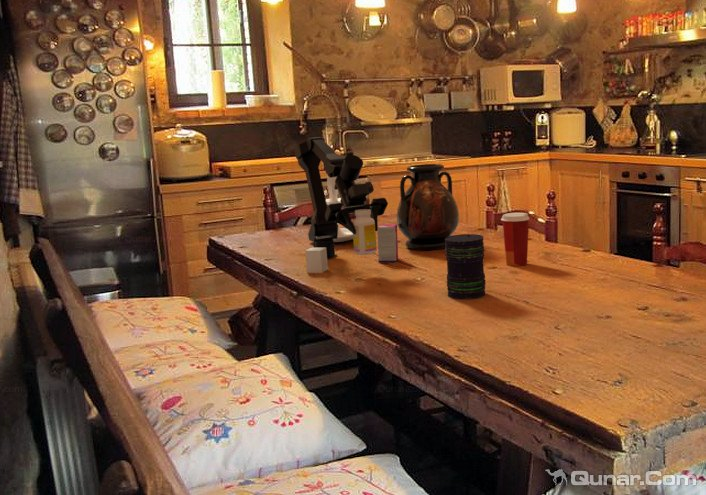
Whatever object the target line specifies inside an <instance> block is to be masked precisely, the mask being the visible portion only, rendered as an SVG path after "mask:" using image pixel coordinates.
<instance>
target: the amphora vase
mask: <svg viewBox="0 0 706 495" xmlns="http://www.w3.org/2000/svg"><path fill="white" fill-rule="evenodd" d="M444 169H445V166H444V164H442V163H427V164H426V163H425V164H415V165H414V164H413V165H409V166H407V167H406V171H407V172H409V173H411V175H412V176H411V175H410V174H406V175H404V176H402V177H401V179H400V181H399V183H400V184H399V194H400V200H399V203H398V206H397V212H396V223H397V224H396V225H397V228H398V229H399V231H400V232H401V234H402V235H403V236H405V238H407V240H406V241H405V246H406V247H407V248H408V249H411V250H417V251H433V250H441V249H445V248H446V247H445V244H446V242H445V238H446V237H448V236H453V235H454V234H453V233H455V231H456V230H457V229H458V225H459V223H460V213H459V207H458V205H457V202H456V199H455V197H454V196H453V180H452V176H451V175H450V173H449V172H448V171H442V170H444ZM440 171H441V172H440ZM443 176H444V177H446V181H447V187H446V186H444V184H443V183H442V182H441V181H442V177H443ZM407 179H408V180H409V181H410V183H411V184H410V186H409V187H408V188H407V190H406V191H405V184H406V181H407Z"/></svg>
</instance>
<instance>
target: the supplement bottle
mask: <svg viewBox="0 0 706 495" xmlns="http://www.w3.org/2000/svg"><path fill="white" fill-rule="evenodd" d="M370 215H371V210H370V209H360V210H355V213H354V216H355V218H354V219H353V220H352V223H353V225H354V227H355V230H356V234H353V239H352V240H353V251H354V253H355V254H356V255H360V256H369V255H373V254H375V253H376V252H377V251H378V248H377V237H376V231H375V221H374V219H373V218H371V217H370Z"/></svg>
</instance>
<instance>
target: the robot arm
mask: <svg viewBox="0 0 706 495" xmlns="http://www.w3.org/2000/svg"><path fill="white" fill-rule="evenodd" d="M294 155H295V156H294V157H295V159H296V160H297V163H298V166H299V167H300V168H301V169H302V170H303V171H304V173H305V178H306V181H307V182H306V183H307V187H308V191H309V196H310V200H311V204H312V210H313V214H312V216H311V220H310V228H309V231H308V233H307V235H308V240H309V241H310V242H313V248H324V247H326V250H327V260H329V259H332V258H336V257H338V254H337V253H336V251H335V243H334V242H333V239H337V236H338V226H339V225H341V226H342V227H344V228H347V229H348V230H349V231H351V232H352V233H353V234H356V230H355V227H354V225H353V223H352V222H353V220H352V219H351V217H350V216H351V214H355V210H360V209H370V210H371V215H370V217H371V218H373V219H374V221H375V232H377V230H378V226H379V225H378V224H379V223H378V222H379V221H378V216H382V215H384V214H385V212H386V209H387V207H388V204H389V203H388V200H387V198H386V197H376V198H372V200H371V201H370V203H367V204H365V202H367V196H368V195H370V194H372V193H373V192H374V184H372V182H371V181H365V183H357V184H356V181H357V180H358V178H359V177H360V174H361V171H362V169H363V166H364V161H363V159H362V158H361V157H359V156H357V155H355V154H354V153H353V152H346V153H345V155H343V154H339V153H336V152H335V150H334V149H332V147H330V146H329V144H328V143H327V142H326V141H325V138H324V137H321V136H316V137H309V138H308V139H306V141H304V142H301V143H299V144H298V146H297V147H296V148H295V150H294ZM321 162H322V163H323V164H324V171H325V173H326V174H325V175H326V176H327V175H328V176H329V177H330V178H332V177H337V178H336V180H335V190H337V189H338V195H339V196H340V198H341V200H340V201H341V203H333V204H329V205H328V204H327V203H326V199H327V198H326V196H325V190H324V187H323V186H324V185H323V182H322V178H321V172H320V168H319V167H320V164H321ZM337 223H338V224H337Z"/></svg>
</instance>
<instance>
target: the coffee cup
mask: <svg viewBox="0 0 706 495" xmlns="http://www.w3.org/2000/svg"><path fill="white" fill-rule="evenodd" d="M500 220H501V222H502V231H503V232H502V233H503V240H504V241H503V242H504V243H503V244H504V253H505V261H506V263H505V264H506V265H507V266H509V267H523V266H526V265H527V264H528V249H529V245H528V244H529V222H530V221H529V220H530V217H529V214H528V213H526V212H509V213H504V214H503V215H502V216H501V218H500Z"/></svg>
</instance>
